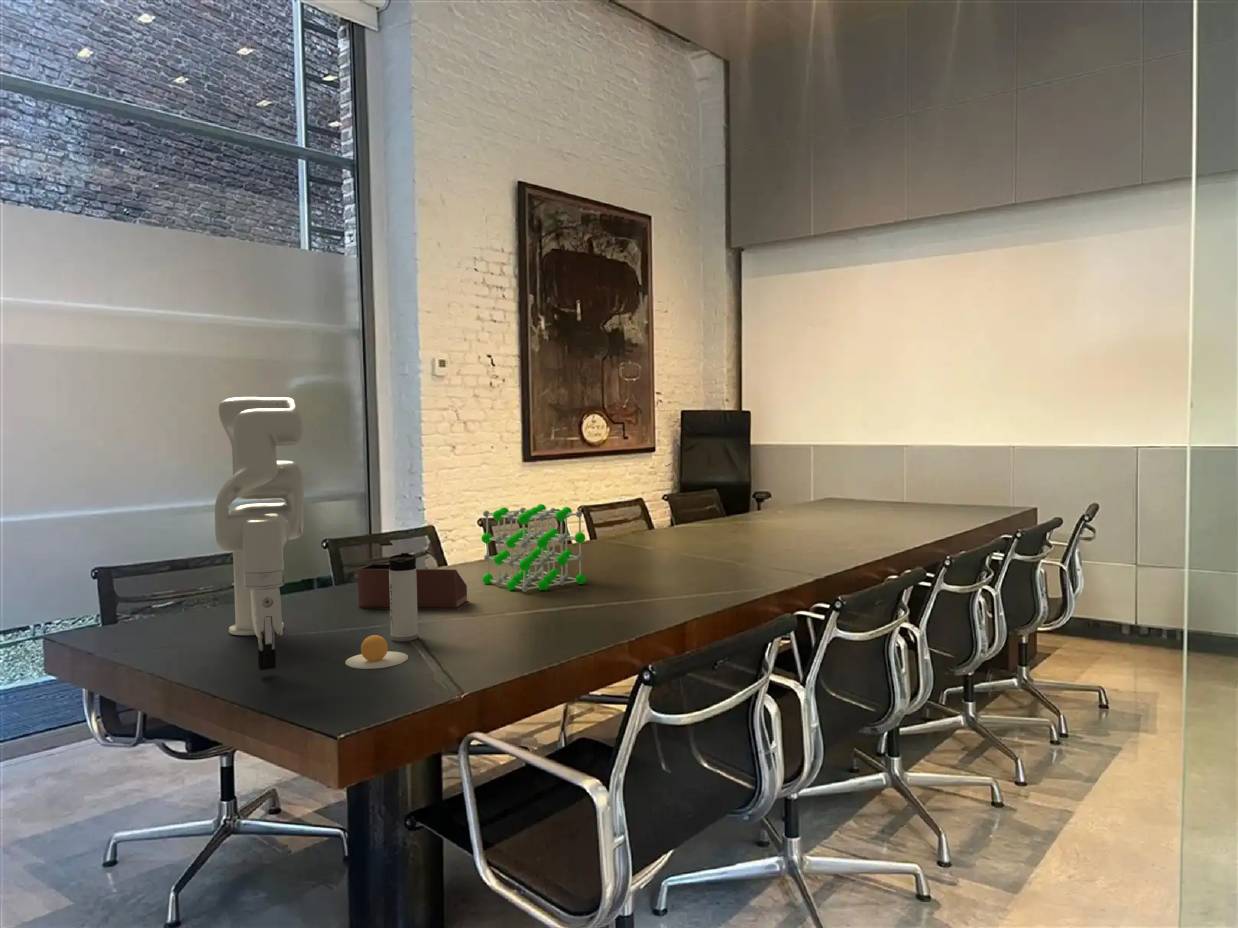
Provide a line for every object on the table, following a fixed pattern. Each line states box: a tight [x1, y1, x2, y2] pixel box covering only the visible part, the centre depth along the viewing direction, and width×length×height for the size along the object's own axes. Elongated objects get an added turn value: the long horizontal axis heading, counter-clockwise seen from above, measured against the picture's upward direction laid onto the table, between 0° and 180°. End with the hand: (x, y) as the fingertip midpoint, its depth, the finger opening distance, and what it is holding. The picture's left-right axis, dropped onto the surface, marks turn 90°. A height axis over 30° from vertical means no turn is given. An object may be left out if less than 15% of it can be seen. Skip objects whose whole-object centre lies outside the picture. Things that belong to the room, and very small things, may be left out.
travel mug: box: [388, 552, 419, 643], centre depth 204 cm, size 6×7×20 cm
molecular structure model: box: [480, 503, 587, 593], centre depth 271 cm, size 24×25×24 cm
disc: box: [344, 650, 409, 670], centre depth 185 cm, size 13×13×1 cm
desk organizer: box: [356, 563, 470, 610], centre depth 242 cm, size 10×29×11 cm, turn 83°
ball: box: [360, 634, 389, 662], centre depth 184 cm, size 6×6×6 cm
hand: (267, 668), depth 175 cm, fingers closed
